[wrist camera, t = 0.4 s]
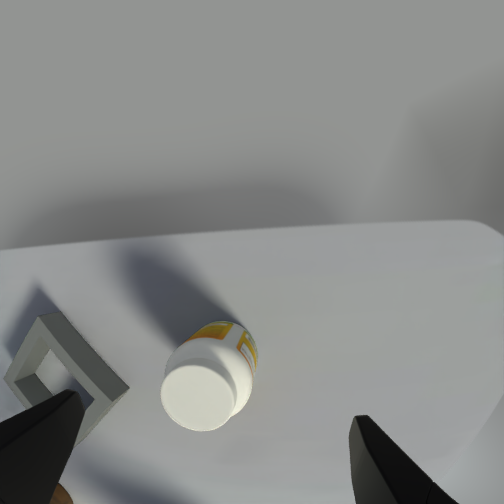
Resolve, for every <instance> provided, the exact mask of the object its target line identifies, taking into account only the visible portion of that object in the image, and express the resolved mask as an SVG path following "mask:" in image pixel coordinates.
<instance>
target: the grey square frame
mask: <svg viewBox="0 0 504 504" xmlns="http://www.w3.org/2000/svg"><path fill="white" fill-rule="evenodd" d="M49 349H51V350H52V351H53V353H54V354H55V355H56V356H57V357H58V359H59V360H60V361H61V362H62V364H63V365H64V366H65V367H66V368H67V369H68V371H69V372H70V373H71V374H72V375H73V376H74V377H75V379H76V380H77V381H78V382H79V383H80V384H81V385H82V386H83V387H84V389H85V390H86V391H87V392H88V393H89V394H90V395H91V396H92V397H93V398H94V399H95V400H94V401H93V402H92V404H91V405H90V406H89V407H88V408H87V410H86V411H85V415H84V418H83V421H82V424H81V426H80V429H79V432H78V436H77V439H76V442H75V445H74V447H75V446H76V445H77V444H79V443H80V442H81V441H82V440H83V439H84V438H85V437H86V436H87V435H88V434H89V433H90V432H91V430H92V429H93V428H94V427H95V426H96V425H97V424H98V423H99V422H100V421H101V419H102V418H103V417H104V416H105V415H106V414H107V413H108V412H109V411H110V409H111V408H112V407H113V406H114V405H115V404H116V403H117V402H118V401H119V399H120V398H121V397H122V396H123V395H124V394H125V393H126V392H127V391H128V389H129V387H128V386H127V385H126V384H125V383H124V382H123V381H122V380H121V379H120V378H119V377H118V376H117V375H116V374H115V373H114V372H113V371H112V370H111V369H110V368H109V367H108V366H107V364H106V363H105V362H104V361H103V360H102V359H101V358H100V357H99V356H98V355H97V354H96V353H95V351H94V350H93V349H92V348H91V347H90V346H89V345H88V344H87V342H86V341H85V340H84V339H83V338H82V337H81V336H80V334H79V333H78V332H77V331H76V330H75V328H74V327H73V326H72V325H71V324H70V322H69V321H68V320H67V319H66V318H65V316H64V315H63V314H62V313H61V312H56V313H51V314H46V315H40V316H38V317H37V318H36V320H35V322H34V323H33V325H32V327H31V329H30V330H29V332H28V334H27V336H26V337H25V339H24V341H23V343H22V345H21V346H20V348H19V350H18V352H17V354H16V356H15V358H14V359H13V361H12V363H11V365H10V367H9V369H8V371H7V373H6V375H5V377H4V380H5V382H6V383H7V385H8V386H9V387H10V389H11V390H12V391H13V393H14V394H15V395H16V397H17V398H18V399H19V401H20V402H21V403H22V404H23V406H24V407H25V408H26V409H29V408H31V407H33V406H35V405H37V404H39V403H41V402H43V401H45V400H47V399H49V398H51V397H53V395H52V394H51V393H50V392H49V391H48V389H47V388H46V387H45V386H44V385H43V383H42V382H41V381H40V380H39V378H38V377H37V376H36V375H35V372H36V370H37V368H38V367H39V365H40V363H41V362H42V360H43V359H44V357H45V355H46V354H47V352H48V351H49ZM74 447H73V448H74Z"/></svg>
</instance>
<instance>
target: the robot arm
mask: <svg viewBox="0 0 504 504" xmlns="http://www.w3.org/2000/svg"><path fill="white" fill-rule="evenodd" d="M84 415H85V408H84V405H83V403H82V400H81V398H80V395H79V393H78V392H77V391H73V390H70V389H66V390H64V391H62V392H60V393H58V394H56V395H54V396H53V397H51V398H49V399H47V400H45V401H43V402H41V403H39V404H37V405H35V406H33V407H31V408H29V409H27V410H25V411H23V412H21V413H19V414H17V415H15V416H13V417H11V418H9V419H7V420H5V421H3V422H1V423H0V504H50V501H51V499H52V496H53V494H54V491H55V489H56V487H57V484H58V482H59V480H60V477H61V475H62V473H63V470H64V468H65V466H66V463H67V461H68V459H69V457H70V455H71V452H72V450H73V447H74V445H75V442H76V439H77V436H78V432H79V429H80V426H81V424H82V421H83V418H84ZM349 448H350V463H351V478H352V485H353V490H354V496H355V501H356V504H459V503H457V502H456V501H455V500H454V499H452V498H451V497H450V496H449V495H448V494H447V493H445V492H444V491H443V490H442V489H441V488H440V487H439V486H438V485H437V484H436V483H435V482H433V480H432V479H431V478H430V477H429V476H428V475H427V474H426V473H425V472H424V471H423V470H422V469H421V468H420V467H419V466H418V465H417V464H416V463H415V462H414V461H413V460H412V459H411V458H410V457H409V456H408V455H407V454H406V453H405V452H404V451H403V450H402V449H401V448H400V447H399V446H398V445H397V444H396V443H395V442H394V441H393V440H392V439H391V438H390V437H389V436H388V435H387V434H386V433H385V432H384V431H383V430H382V429H381V428H380V427H379V426H378V425H377V424H376V423H375V422H374V421H373V420H372V419H371V418H370V417H369V416H368V415H358V416H355V417H354V418H353V422H352V425H351V429H350V432H349Z"/></svg>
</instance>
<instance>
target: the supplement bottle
mask: <svg viewBox="0 0 504 504" xmlns="http://www.w3.org/2000/svg"><path fill="white" fill-rule="evenodd" d="M257 358H258V352H257V347H256V344H255V341H254V339H253V338H252V336H251V335H250V334H249V332H248V331H247V330H245V329H244V328H243V327H241V326H240V325H238V324H235V323H232V322H227V321H217V322H212V323H209V324H207V325H205V326H204V327H202V328H201V329H200V330H198V331H197V332H196V333H195V334H194V335H192V336H191V337H190V338H189V339H188V340H186V341H185V342H184V343H183V344H182V345H180V346H179V347H178V348H177V349H176V350H175V351H174V352H173V353H172V355H171V356H170V358H169V360H168V362H167V365H166V368H165V378H164V380H163V382H162V385H161V390H160V396H161V402H162V405H163V407H164V409H165V411H166V412H167V414H168V415H169V416H170V417H171V418H172V419H173V420H174V421H175V422H176V423H178V424H179V425H181V426H183V427H185V428H187V429H190V430H195V431H209V430H214V429H216V428H218V427H220V426H222V425H223V424H224V423H225V422H227V420H228V419H229V418H230V417H231V416H233V415H235V414H236V413H238V412H239V411H240V410H241V409H242V408H243V407H244V405H245V404H246V402H247V401H248V399H249V396H250V393H251V390H252V385H253V380H254V375H255V370H256V365H257Z"/></svg>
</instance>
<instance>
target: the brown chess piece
mask: <svg viewBox="0 0 504 504" xmlns="http://www.w3.org/2000/svg"><path fill="white" fill-rule="evenodd" d="M50 504H73V501H72V499H71V497H70V496H69V494H68V493H67V492H66V490H65V489H64V488H63V487H62V486H61V485H60V484H59V483H58V484H57V487H56V489H55V491H54V494H53V496H52V499H51V501H50Z"/></svg>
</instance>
